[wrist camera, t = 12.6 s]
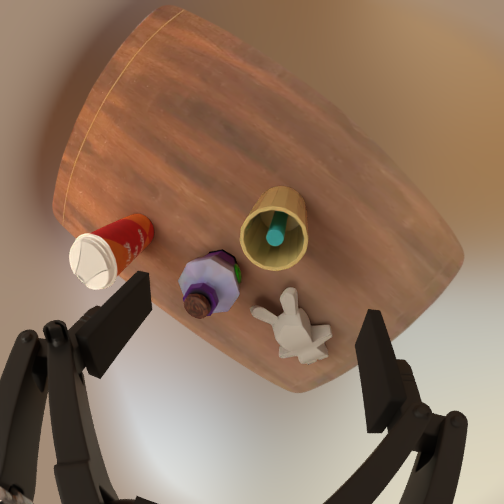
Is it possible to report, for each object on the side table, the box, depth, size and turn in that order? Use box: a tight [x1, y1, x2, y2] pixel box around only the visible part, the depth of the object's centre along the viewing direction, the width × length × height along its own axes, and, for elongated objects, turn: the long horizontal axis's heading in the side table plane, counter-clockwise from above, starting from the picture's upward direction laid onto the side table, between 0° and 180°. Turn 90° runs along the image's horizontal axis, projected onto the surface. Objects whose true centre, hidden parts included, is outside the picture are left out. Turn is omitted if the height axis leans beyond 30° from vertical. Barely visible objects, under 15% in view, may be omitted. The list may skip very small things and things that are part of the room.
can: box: [240, 186, 308, 271], centre depth 35 cm, size 7×7×12 cm
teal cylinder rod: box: [266, 211, 288, 246], centre depth 35 cm, size 2×2×11 cm
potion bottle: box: [178, 249, 241, 319], centre depth 40 cm, size 9×9×12 cm
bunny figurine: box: [250, 287, 332, 365], centre depth 45 cm, size 10×5×15 cm
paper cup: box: [69, 214, 154, 290], centre depth 39 cm, size 8×8×14 cm
